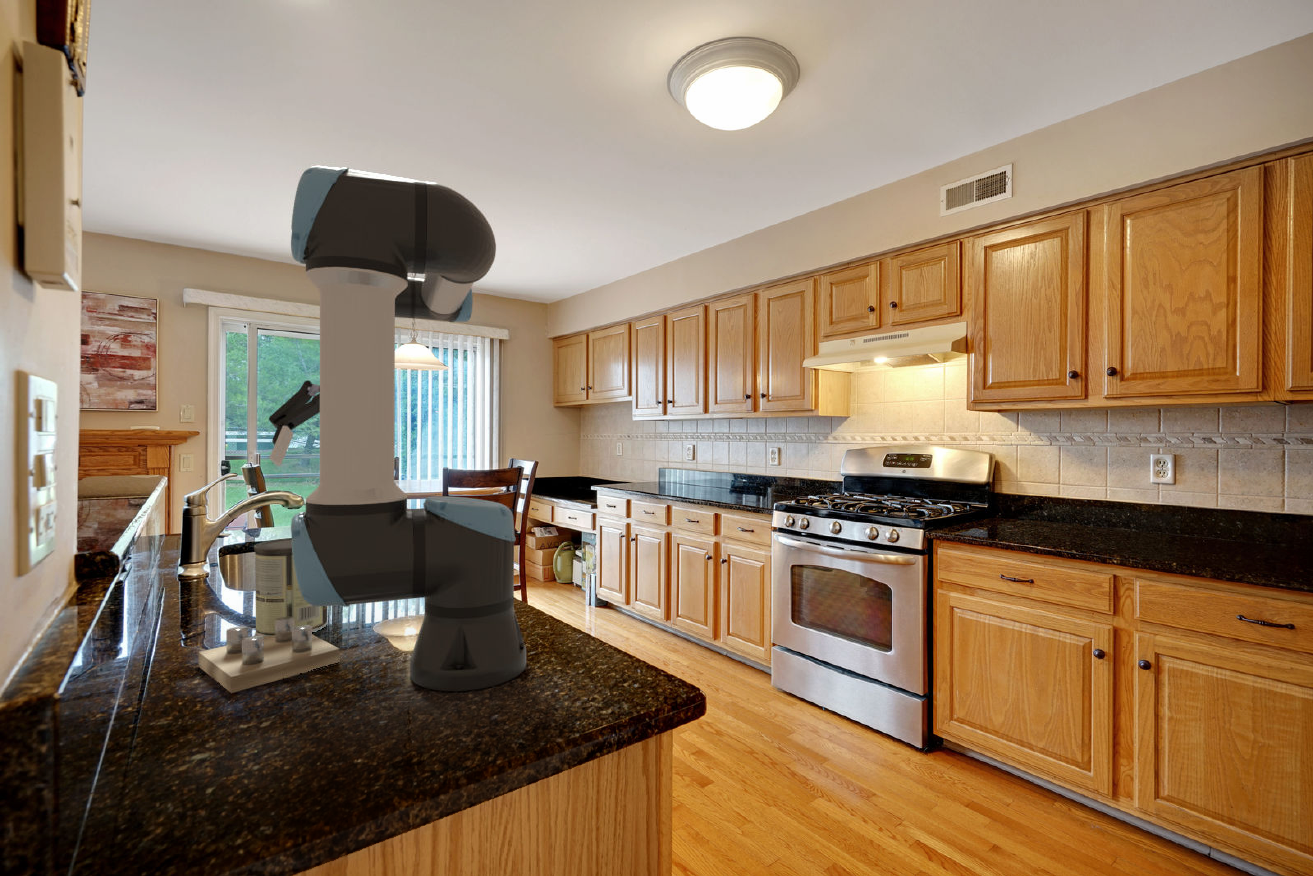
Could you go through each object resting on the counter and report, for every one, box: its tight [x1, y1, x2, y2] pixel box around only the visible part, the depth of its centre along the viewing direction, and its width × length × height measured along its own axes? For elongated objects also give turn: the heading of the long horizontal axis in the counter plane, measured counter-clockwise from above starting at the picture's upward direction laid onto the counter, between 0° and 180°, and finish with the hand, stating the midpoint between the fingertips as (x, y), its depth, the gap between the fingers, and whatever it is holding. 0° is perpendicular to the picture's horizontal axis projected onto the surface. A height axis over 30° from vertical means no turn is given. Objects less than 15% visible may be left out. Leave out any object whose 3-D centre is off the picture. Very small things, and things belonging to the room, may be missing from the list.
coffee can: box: [253, 537, 329, 637], centre depth 101 cm, size 10×10×14 cm
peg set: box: [225, 617, 313, 665], centre depth 86 cm, size 8×8×3 cm
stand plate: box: [198, 634, 341, 694], centre depth 86 cm, size 13×13×2 cm
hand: (315, 466), depth 107 cm, fingers open, 13 cm apart
